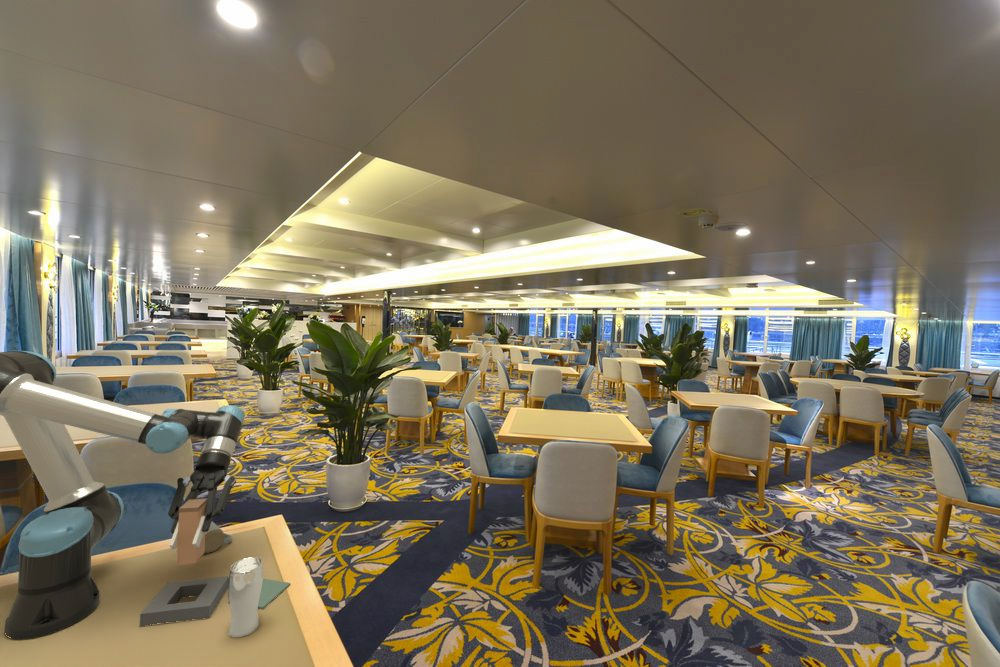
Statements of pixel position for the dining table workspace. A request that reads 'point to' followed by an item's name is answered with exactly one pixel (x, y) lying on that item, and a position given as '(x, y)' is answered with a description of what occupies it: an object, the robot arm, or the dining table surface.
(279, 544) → the dining table surface
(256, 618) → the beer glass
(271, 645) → the dining table surface
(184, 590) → the socket block
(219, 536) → the ceramic mug
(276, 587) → the mat
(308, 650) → the dining table surface
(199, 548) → the brown tall block
